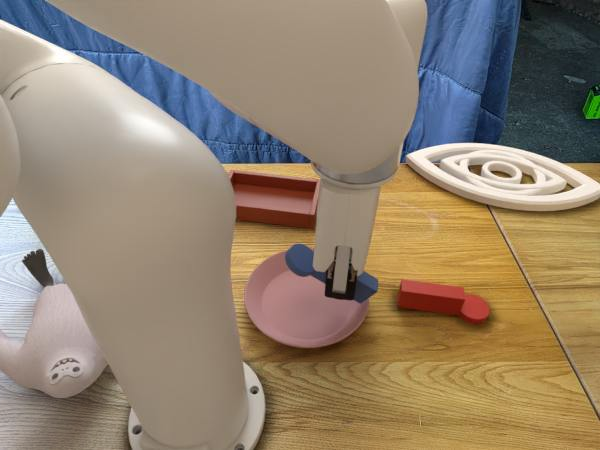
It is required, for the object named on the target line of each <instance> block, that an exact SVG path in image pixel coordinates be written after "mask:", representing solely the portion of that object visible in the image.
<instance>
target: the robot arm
mask: <svg viewBox="0 0 600 450" xmlns="http://www.w3.org/2000/svg"><path fill="white" fill-rule="evenodd" d="M44 1H45V2H47V3H48V4H50V5H51V6H53V7H55V8H56V9H58V10H59V11H61V12H62V13H64V14H66V15H68V16H69V17H71V18H72V19H74V20H75V21H78V22H79V23H81V24H83V25H84V26H86V27H88V28H90V29H92V30H93V31H96V32H97V33H99V34H101V35H103V36H106V37H107V38H109V39H111V40H113V41H116V42H118V43H120V44H122V45H124V46H126V47H128V48H130V49H132V50H134V51H135V52H138V53H140V54H142V55H143V56H146V57H148V58H149V59H151V60H153V61H156V62H157V63H159V64H161V65H163V66H165V67H166V68H168V69H170V70H172V71H174V72H176V73H177V74H180V75H181V76H183V77H185V79H188V80H189V81H192V82H193V83H195V84H196V85H199V86H200V87H202V88H203V89H205V90H207V92H208V93H209V94H210V95H211V96H212V97H213V98H214V99H215V100H216V101H217V102H218V103H220V104H221V105H222V106H223V107H224V108H226V109H227V110H229V111H231V113H234V114H235V115H237V116H239V117H240V118H242V119H244V120H245V121H247V122H248V123H249V124H251V125H253V126H255V127H256V128H259V129H260V130H261V131H263V132H265V133H267V134H269V135H271V136H272V137H274V138H275V139H276V140H278V141H280V142H281V143H283V144H285V145H286V146H288V147H290V148H291V149H293V150H294V151H296V152H297V153H299V154H300V155H302V156H304V157H305V158H307V160H310V166H311V169H312V171H313V173H315V175H316V176H317V177H318V178H319V180H320V186H319V195H318V205H317V217H316V222H315V233H314V247H313V248H314V257H313V268H314V269H315V270H316V271H320V272H325V271H326V270H327V271H326V282H325V296H326V297H328V298H334V299H338V300H350V301H351V300H354V294H355V288H356V281H357V276H359V275H361V274H362V273H363V271H365V268H366V263H367V259H368V255H369V251H370V245H371V242H372V236H373V231H374V228H375V222H376V217H377V211H378V207H379V201H380V194H381V188H382V186H385V185H386V184H388V183H390V182H391V181H392V180H394V179H395V178H396V176H397V174H398V172H399V168H400V163H401V157H402V152H403V148H404V143H405V140H406V138H407V136H408V134H409V132H410V131H411V128H412V126H413V123H414V121H415V118H416V113H417V110H418V105H419V96H420V80H419V74H418V70H419V65H420V62H421V56H422V50H423V45H424V39H425V36H426V35H425V34H426V29H427V24H428V5H427V2H426V0H44ZM12 200H13V202H14V204H15V206H16V207H17V208H18V210H19V212H20V213H21V215H22V216H23V217H24V219H25V220H26V222H27V223H28V225H29V226H30V227H31V229H32V230H33V232H34V234H35V235H36V236H37V239H38V240H39V242H40V243H41V244H42V246H43V248H44V249H45V251H46V252H47V254H48V255H49V257H50V259H51V260H52V263H54V266H55V267H56V269H57V270H58V272H59V274H60V276H61V277H62V279H63V280H64V282H65V284H67V286H68V287H69V289H70V291H71V292H72V294H73V296H74V298H75V301H76V303H77V305H78V307H79V309H80V312H81V314H82V316H83V318H84V320H85V322H86V324H87V326H88V328H89V330H90V332H91V334H92V336H93V338H94V340H95V342H96V343H97V345H98V347H99V349H100V351H101V353H102V355H103V356H104V358H105V359H106V361H107V362H108V366H109V368H110V370H111V372H112V373H113V375H114V377H115V379H116V381H117V383H118V385H119V386H120V388H121V390H122V392H123V394H124V396H125V398H126V399H127V401H128V404H129V405H130V407H131V408H130V411H129V414H128V423H127V424H128V425H127V433H128V440H129V441H128V442H129V444H130V447H131V450H254V449H255V448H256V447H257V444H258V442H259V440H260V437H261V435H262V433H263V430H264V425H265V420H266V406H267V405H266V396H265V393H264V389H263V385H262V383H261V381H260V380H259V377H258V376H257V374H256V373H255V372H254V370H253V369H252V368H251V367H250V365H248V364H247V363H246V362H245V361H244V360H243V354H242V346H241V338H240V331H239V325H238V318H237V311H236V304H235V299H234V292H233V284H232V271H231V267H232V266H231V265H232V264H231V263H232V248H233V242H234V236H235V229H236V220H237V219H236V200H235V194H234V190H233V187H232V184H231V181H230V179H229V177H228V173H227V171H226V170H225V168H224V166H223V164H222V163H221V162H220V160H219V159H218V157H217V156H216V155H215V154H214V153H213V152H212V150H211V149H210V148H209V146H208V145H206V144H205V143H204V141H202V140H201V139H200V138H199V137H198V136H197V135H196V134H195V133H193V131H191V129H189V128H187V126H186V125H184V124H183V123H181V122H180V121H178V120H177V119H176V118H174V117H173V116H171V115H170V114H169V113H168V112H166V111H165V110H163V109H162V108H160V107H159V106H158V105H157V104H155V103H153V102H152V101H151V100H149V99H148V98H146V97H144V96H143V95H142V94H140V93H138V91H135V90H134V89H133V88H131V87H130V86H129V85H127V84H126V83H124V82H123V81H121V79H119V78H118V77H116V76H115V75H113V74H112V73H109V71H106V69H104V68H102V67H100V66H99V65H97V64H95V63H93V62H92V61H90V60H88V59H86V58H84V57H82V56H80V55H78V54H76V53H73V52H71V51H69V50H68V49H65V48H63V47H61V46H58V45H57V44H54V43H52V42H50V41H48V40H45V39H43V38H41V37H39V36H37V35H35V34H34V33H31V32H29V31H26V30H25V29H22V28H20V27H18V26H15V25H14V24H11V23H9V22H7V21H6V20H3V19H1V18H0V218H1V217H2V216H3V214H4V213H5V212H6V210H7V208H8V207H9V206H10V204H11V201H12ZM334 264H335V267H334ZM349 266H351V271H350V269H348V267H349ZM254 393H255V394H254Z"/></svg>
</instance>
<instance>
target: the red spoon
mask: <svg viewBox="0 0 600 450" xmlns="http://www.w3.org/2000/svg"><path fill="white" fill-rule="evenodd" d="M396 295H397V297H396V298H397V299H396V300H397V301H396V302H397V304H396V307H397V308H402V309H407V310H408V309H409V310H417V311H421V312H422V311H424V312H430V313H436V314H443V315H444V314H445V315H452V316H458V318H460V319H461V320H462V321H464V322H466V323H468V324H470V325H481V324H483V323H484V322H485V323H486V321H487V319H488V317H489V315H490V313H491V310H490V308H491V307H490V305H489V304H488V302H487V301H486V300H485V299H484V298H482V297H481V296H479V295H476V294H473V293H466V294H465V288H464V286H455V285H448V284H442V283H441V284H440V283H433V282H426V281H420V280H411V279H404V278H403V279H401V280H400V283H399V287H398V292H397V294H396Z"/></svg>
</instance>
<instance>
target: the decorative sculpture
mask: <svg viewBox="0 0 600 450" xmlns="http://www.w3.org/2000/svg"><path fill="white" fill-rule="evenodd" d="M438 161H439V167H438V166H437V165H435V164H434V162H438ZM405 163H406V164H407V166H409V167H410V168H411V169H412V170H413V171H415V172H416V173H417V174H419V175H420V176H421V177H422V178H425V179H426V180H427V181H429V182H430V183H433V184H434V185H436V186H437V187H440V188H442V189H443V190H446V191H448V192H450V193H453V194H455V195H457V196H460V197H461V198H464V199H468V200H472V201H475V202H477V203H481V204H485V205H488V206H493V207H498V208H504V209H508V210H509V209H510V210H515V211H525V212H526V211H527V212H555V211H556V212H557V211H565V210H570V209H575V208H579V207H583V206H586V205H589V204H591V203H593V202H595V201H597V200H598V199H600V182H597V181H596V180H595V179H593V178H591V177H589V176H588V175H586V174H584V173H582V172H580V171H579V170H577V169H575V168H572V167H571V166H568V165H566V164H564V163H562V162H560V161H558V160H555V159H552V158H550V157H547V156H544V155H541V154H538V153H535V152H531V151H527V150H525V149H519V148H515V147H510V146H505V145H499V144H492V143H482V142H481V143H479V142H456V143H444V144H440V145H439V144H438V145H434V146H429V147H425V148H421V149H418V150H414V151H413V152H410V153H407V154H406V155H405ZM470 166H482V167H481V170H480V175H478V174H476V173H473V172H471V171H470V170H469V167H470ZM496 171H497V172H501V173H505V174H507V175H509V176H510V177H502V176H498V175H495V174H494V173H492V172H496ZM523 174H526V175H528V176H530V177H531V178H532V179H533V181H534V183H521V182H522V179H523ZM567 184H568V185H570V186H571V187H573V189H571V190H568V191H567V190H566V191H563V190H565V189H566V186H567ZM561 191H563V192H561Z"/></svg>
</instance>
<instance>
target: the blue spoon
mask: <svg viewBox="0 0 600 450" xmlns="http://www.w3.org/2000/svg"><path fill="white" fill-rule="evenodd" d="M310 248H311V247H309V246H308V245H306V244H303V243H294V244H293V245H291V246H289V248H288V249H286V250H287V252H286V254H285V261H286V264H287V266H288V267H289V269H290V270H291V271H292V272H293V273H294V274H296V275H298V276H301V277H307V276H309V275H311V276H312V277H314V278H316V279H318V280H319V281H321V282H323V283H325V282H326V271H327V270H326V271H325V272H320V271H316V270H315V269H314V268H313V257H314V252H313V251H312V250H311V249H310ZM334 267H335V264H334ZM348 269H350V271H351V266H349V267H348ZM378 291H379V279H378V278H377V277H375V276H373V275H372V274H370V273H369V272H366V270H364V271H363V273H362V274H361V275H359V276H357V281H356V288H355V294H354V300H355V301H356V302H358V303H360V304H361V303H362V302H364V301H365V300H367V299H368V298H369V299H370V298H371V297H372V296H374V295H375V294H377V293H378Z"/></svg>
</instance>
